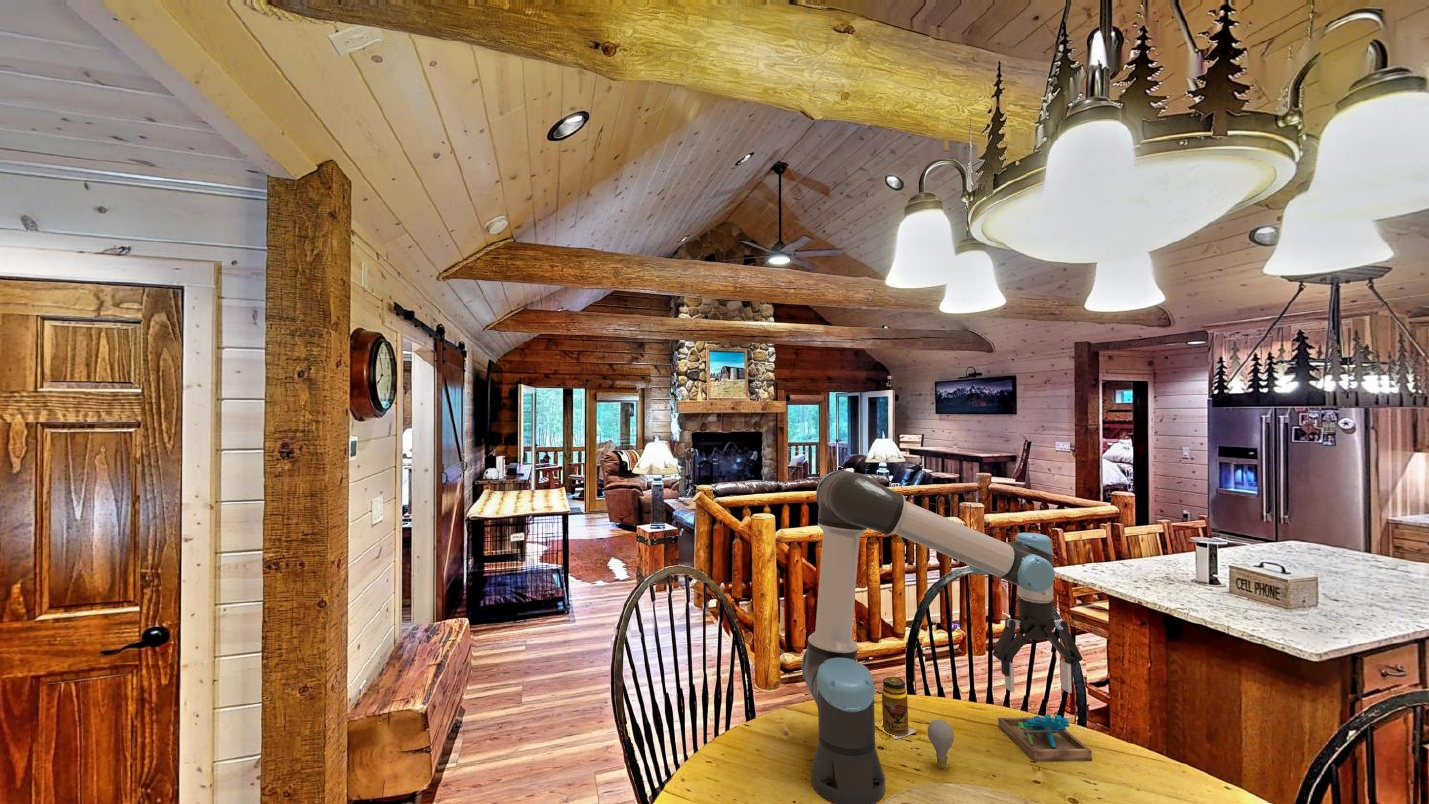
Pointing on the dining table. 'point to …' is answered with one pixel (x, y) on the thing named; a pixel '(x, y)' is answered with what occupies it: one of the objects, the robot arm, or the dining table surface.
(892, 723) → the condiment
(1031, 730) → the blue and green toy
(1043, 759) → the tray
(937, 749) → the light bulb
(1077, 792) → the dining table surface
